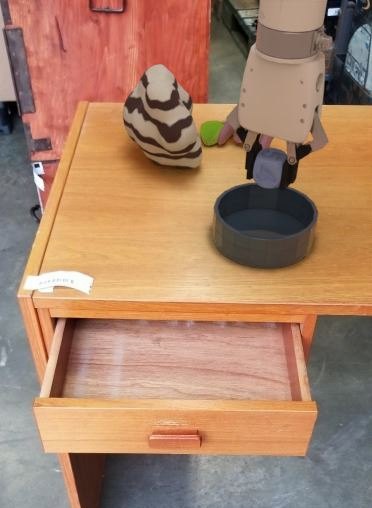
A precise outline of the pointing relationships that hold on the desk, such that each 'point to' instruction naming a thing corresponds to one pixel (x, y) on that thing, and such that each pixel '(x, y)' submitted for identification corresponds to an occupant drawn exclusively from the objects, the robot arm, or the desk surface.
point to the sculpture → (163, 120)
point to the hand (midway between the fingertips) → (269, 179)
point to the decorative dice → (269, 167)
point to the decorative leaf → (211, 132)
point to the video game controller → (228, 130)
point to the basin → (264, 225)
